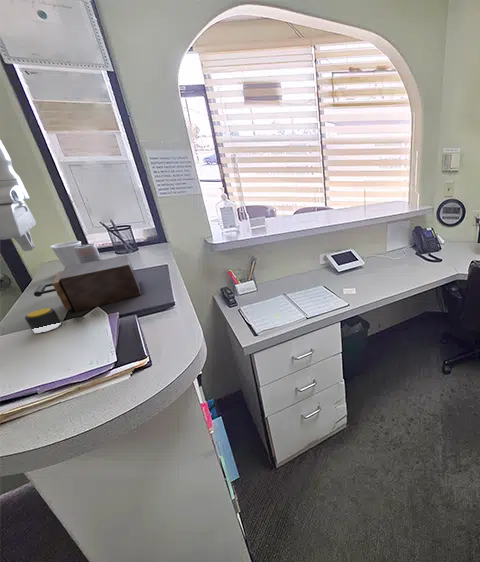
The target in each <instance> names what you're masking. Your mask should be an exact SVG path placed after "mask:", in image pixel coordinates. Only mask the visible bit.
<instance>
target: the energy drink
mask: <svg viewBox="0 0 480 562" xmlns="http://www.w3.org/2000/svg"><path fill="white" fill-rule="evenodd" d="M75 252H76V255H77V257H78V259H79V261H80V263H81V264H83V263H88V262H93V261H98V260H103V259H102V257H101V254H100V253H99V250H98V248H97V246H96V245H95V243H86V244H81V245H80V246H76V247H75Z"/></svg>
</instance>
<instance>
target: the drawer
mask: <svg viewBox="0 0 480 562" xmlns="http://www.w3.org/2000/svg"><path fill="white" fill-rule="evenodd" d="M63 271H64V270H61V271H58V272H57V274H56V276H55V278H54V280H53V281H52V282H51V283H47V284H45V283H40V284H39V285H38V286H37V288H36V289H35V290H34V293H33V295H34V296H35V297H41V296H42V295H44V294H49V293H53V292H56V294H57V295H58V297H59V299H60V302H61V304H62V306H63V307H64V309H65V311H69V310H72V309H73V308H74V307H73V305H72V303H71V301H70V299H69V297H68V295H67V293H66V291H65V289H64V287H63V285H62V283H61V281H60V277H61V275H62V273H63ZM49 287H53V288H51V289H46V288H49Z"/></svg>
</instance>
